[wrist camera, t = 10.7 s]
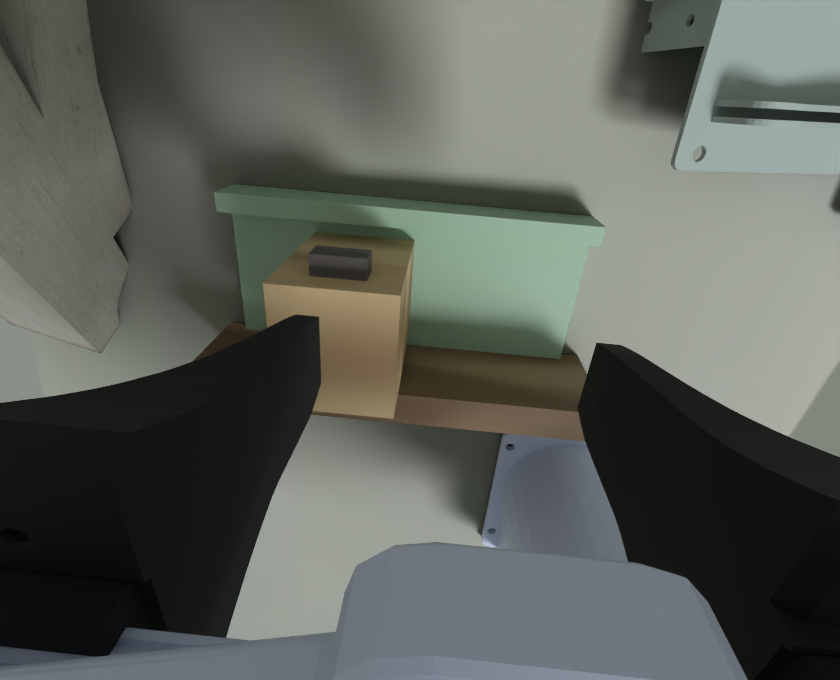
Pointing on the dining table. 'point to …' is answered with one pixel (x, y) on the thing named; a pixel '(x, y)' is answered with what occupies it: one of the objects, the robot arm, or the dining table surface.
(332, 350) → the cabinet block
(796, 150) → the metal bracket
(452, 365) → the wall board
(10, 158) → the white letter a
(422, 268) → the cleat ledge
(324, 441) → the dining table surface
